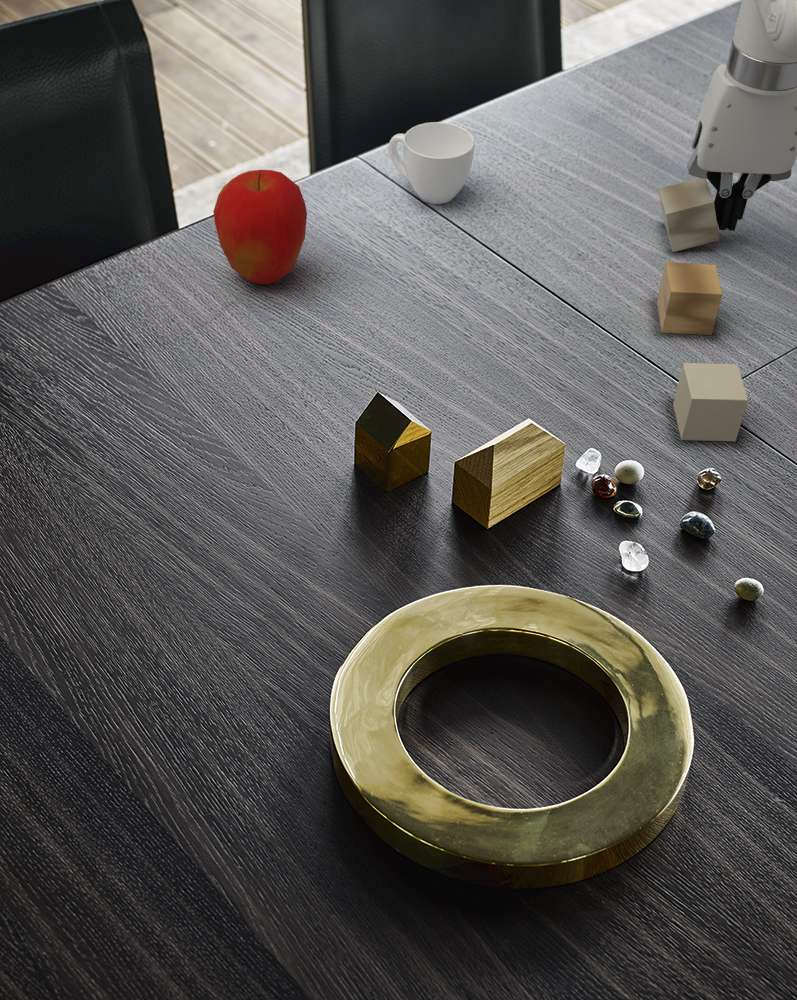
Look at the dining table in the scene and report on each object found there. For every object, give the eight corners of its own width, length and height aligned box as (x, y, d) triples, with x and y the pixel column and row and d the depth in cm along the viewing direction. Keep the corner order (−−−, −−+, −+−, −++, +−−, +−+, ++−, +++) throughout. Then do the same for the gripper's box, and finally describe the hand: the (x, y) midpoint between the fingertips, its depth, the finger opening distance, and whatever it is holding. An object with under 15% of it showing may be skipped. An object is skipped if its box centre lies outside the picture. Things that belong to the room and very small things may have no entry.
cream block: (726, 405, 117) (738, 363, 113) (735, 442, 113) (748, 400, 110) (672, 404, 117) (683, 362, 113) (680, 440, 113) (691, 398, 110)
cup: (450, 220, 137) (454, 165, 132) (371, 193, 141) (372, 139, 136) (482, 188, 142) (487, 134, 137) (405, 163, 145) (407, 109, 141)
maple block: (705, 305, 128) (715, 264, 124) (711, 335, 124) (722, 294, 121) (656, 302, 128) (665, 261, 124) (661, 332, 124) (670, 291, 121)
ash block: (710, 214, 137) (705, 175, 133) (719, 240, 133) (713, 201, 130) (665, 226, 138) (658, 188, 134) (672, 252, 134) (665, 214, 131)
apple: (280, 240, 133) (276, 138, 125) (325, 283, 128) (324, 179, 120) (202, 267, 130) (193, 163, 121) (246, 312, 125) (239, 206, 116)
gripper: (834, 48, 125) (786, 206, 138) (685, 41, 124) (651, 201, 138) (852, 85, 119) (800, 246, 133) (696, 79, 119) (660, 241, 132)
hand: (724, 223), depth 135 cm, fingers closed
